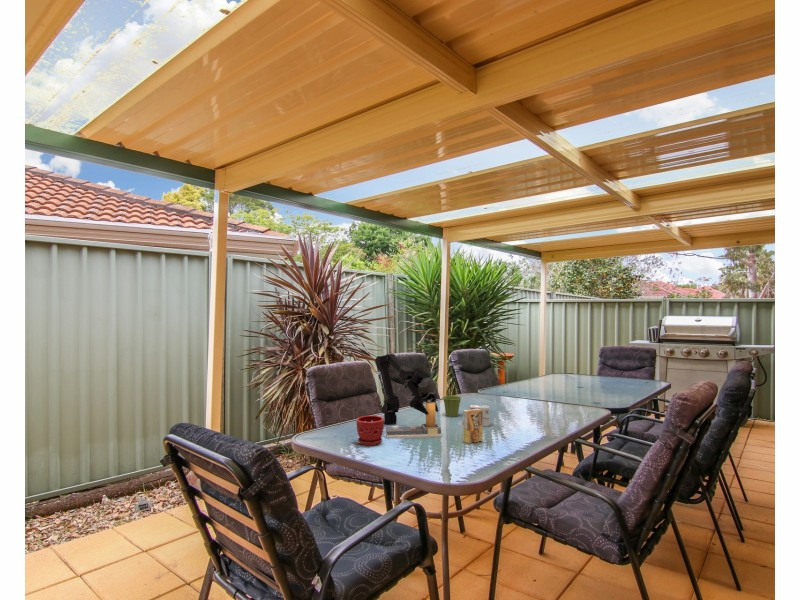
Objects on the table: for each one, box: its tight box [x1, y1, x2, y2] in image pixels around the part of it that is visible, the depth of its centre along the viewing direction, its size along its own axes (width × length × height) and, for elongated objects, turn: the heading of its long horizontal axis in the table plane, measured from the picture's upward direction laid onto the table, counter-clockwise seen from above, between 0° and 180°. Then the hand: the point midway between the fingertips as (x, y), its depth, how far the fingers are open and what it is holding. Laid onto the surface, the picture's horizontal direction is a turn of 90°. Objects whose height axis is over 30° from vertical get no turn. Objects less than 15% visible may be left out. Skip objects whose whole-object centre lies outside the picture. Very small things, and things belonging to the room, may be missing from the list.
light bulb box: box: [469, 404, 491, 427], centre depth 255 cm, size 11×7×11 cm, turn 84°
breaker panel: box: [384, 423, 443, 439], centre depth 234 cm, size 28×12×4 cm, turn 96°
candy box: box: [462, 409, 483, 444], centre depth 221 cm, size 9×4×15 cm, turn 116°
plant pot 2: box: [442, 395, 462, 418], centre depth 280 cm, size 12×12×11 cm
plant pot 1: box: [356, 415, 385, 446], centre depth 219 cm, size 13×13×12 cm
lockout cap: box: [425, 401, 437, 428], centre depth 235 cm, size 5×5×13 cm
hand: (432, 412), depth 234 cm, fingers open, 9 cm apart
